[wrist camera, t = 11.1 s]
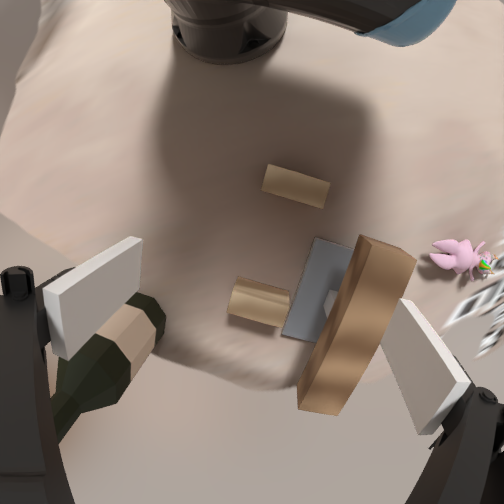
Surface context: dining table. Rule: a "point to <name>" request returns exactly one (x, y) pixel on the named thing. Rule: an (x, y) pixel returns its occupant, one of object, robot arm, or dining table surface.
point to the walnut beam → (354, 325)
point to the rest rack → (261, 295)
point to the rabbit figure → (462, 257)
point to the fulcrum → (317, 289)
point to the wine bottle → (106, 361)
